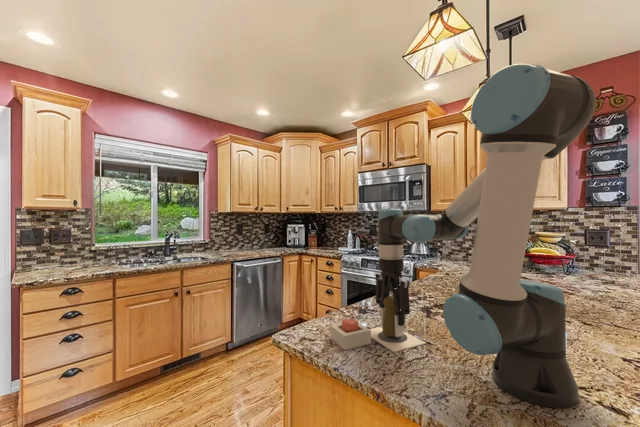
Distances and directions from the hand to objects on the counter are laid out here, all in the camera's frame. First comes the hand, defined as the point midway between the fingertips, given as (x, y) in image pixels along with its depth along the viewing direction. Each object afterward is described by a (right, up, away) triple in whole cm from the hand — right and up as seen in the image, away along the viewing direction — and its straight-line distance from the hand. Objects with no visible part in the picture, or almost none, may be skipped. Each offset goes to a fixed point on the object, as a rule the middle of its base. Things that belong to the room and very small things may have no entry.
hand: (392, 331), depth 89 cm
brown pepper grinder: (0, 0, 0) cm, 0 cm away
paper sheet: (0, -2, 0) cm, 2 cm away
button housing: (-13, -2, -2) cm, 14 cm away
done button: (-14, +1, -2) cm, 14 cm away
